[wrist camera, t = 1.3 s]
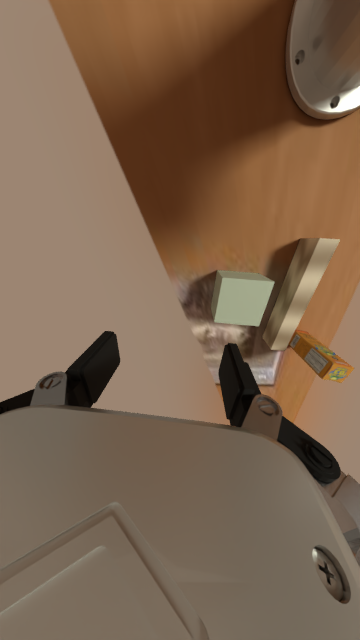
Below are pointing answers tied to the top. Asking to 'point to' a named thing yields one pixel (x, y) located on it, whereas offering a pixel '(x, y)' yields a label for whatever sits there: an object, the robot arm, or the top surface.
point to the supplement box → (319, 357)
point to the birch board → (298, 289)
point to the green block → (240, 297)
